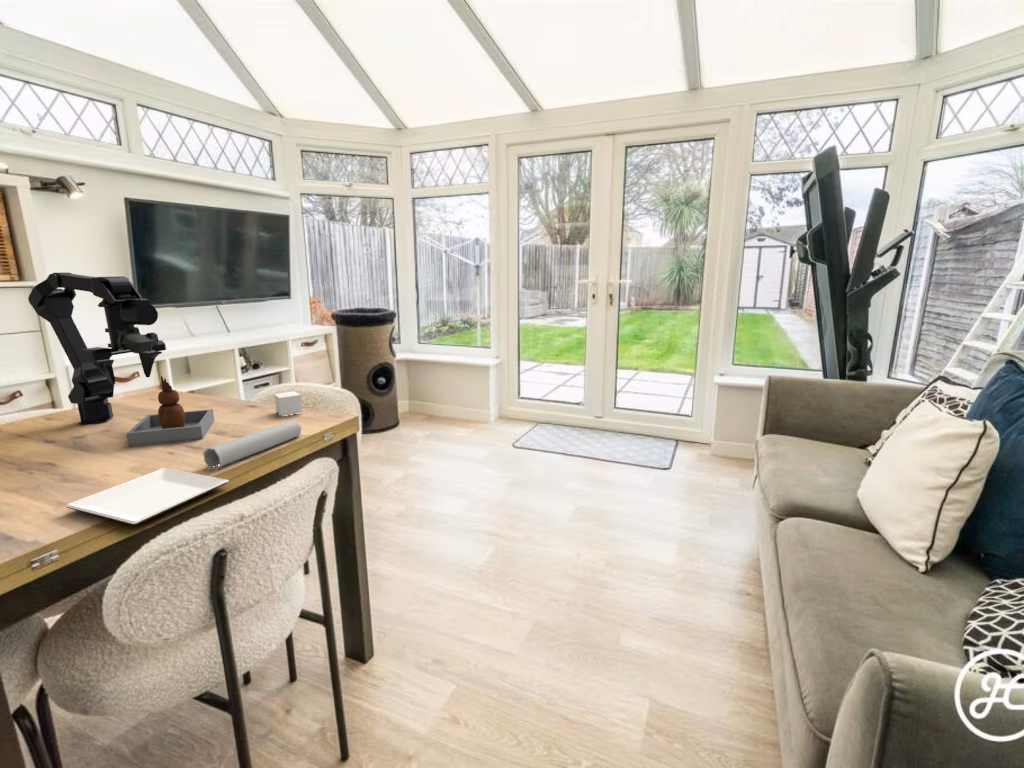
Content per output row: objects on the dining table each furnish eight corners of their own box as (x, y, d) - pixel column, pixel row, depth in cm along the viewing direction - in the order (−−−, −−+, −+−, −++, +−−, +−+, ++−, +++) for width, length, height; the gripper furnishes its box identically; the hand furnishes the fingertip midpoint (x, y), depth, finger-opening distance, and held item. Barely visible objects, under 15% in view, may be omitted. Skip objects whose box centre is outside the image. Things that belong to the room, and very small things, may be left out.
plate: (136, 533, 85) (133, 522, 84) (66, 515, 91) (63, 504, 90) (231, 488, 102) (229, 479, 101) (166, 475, 108) (165, 466, 108)
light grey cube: (281, 417, 149) (279, 398, 148) (276, 413, 153) (274, 394, 152) (302, 413, 153) (300, 394, 151) (296, 409, 157) (294, 390, 156)
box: (128, 446, 124) (126, 433, 124) (149, 426, 140) (147, 414, 139) (202, 439, 130) (200, 426, 129) (214, 420, 145) (212, 409, 145)
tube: (287, 419, 134) (200, 449, 111) (301, 415, 132) (215, 445, 109) (294, 438, 134) (208, 472, 112) (308, 434, 132) (223, 468, 110)
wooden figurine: (159, 430, 136) (150, 376, 132) (184, 425, 139) (176, 373, 136) (163, 436, 131) (153, 380, 127) (188, 431, 134) (180, 377, 131)
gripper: (103, 329, 123) (114, 390, 127) (175, 321, 140) (184, 375, 144) (73, 327, 127) (86, 387, 131) (147, 320, 144) (156, 373, 148)
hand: (131, 380), depth 138 cm, fingers open, 9 cm apart
